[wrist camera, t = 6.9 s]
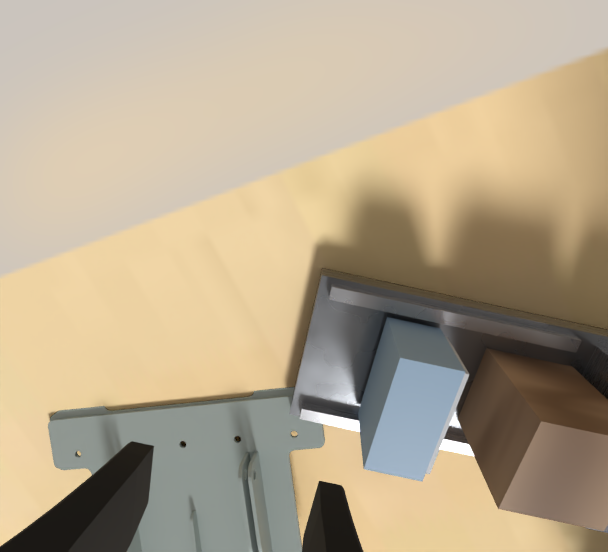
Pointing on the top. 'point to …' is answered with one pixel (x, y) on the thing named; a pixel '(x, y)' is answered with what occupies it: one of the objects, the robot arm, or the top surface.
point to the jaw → (409, 399)
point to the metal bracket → (202, 468)
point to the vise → (432, 312)
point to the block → (539, 438)
